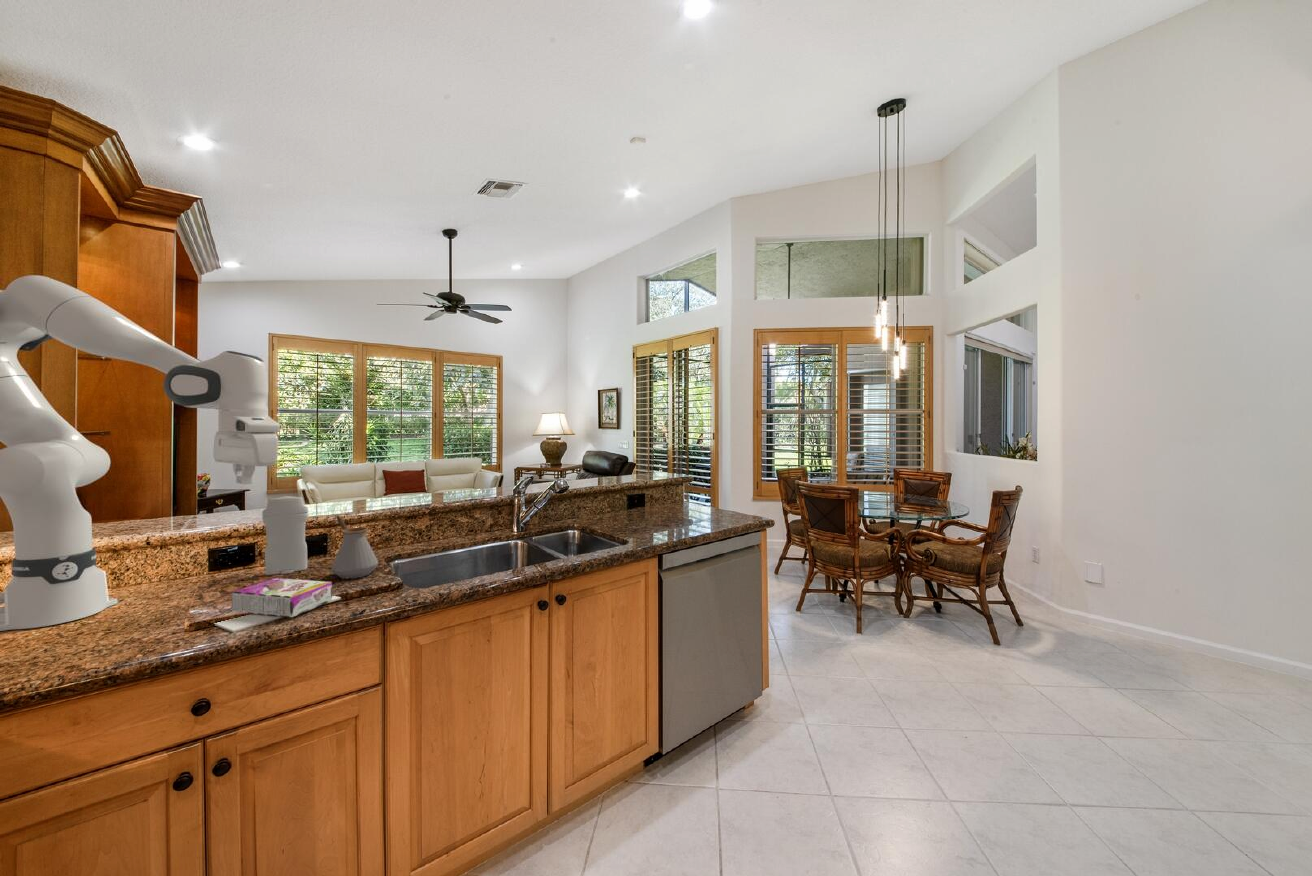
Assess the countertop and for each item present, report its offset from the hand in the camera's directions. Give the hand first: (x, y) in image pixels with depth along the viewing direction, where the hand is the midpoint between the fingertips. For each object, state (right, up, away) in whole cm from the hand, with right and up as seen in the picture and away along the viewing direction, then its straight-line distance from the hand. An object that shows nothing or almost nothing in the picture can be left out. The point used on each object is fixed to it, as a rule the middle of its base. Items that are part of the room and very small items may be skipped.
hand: (244, 484), depth 115 cm
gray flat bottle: (-12, -28, +30) cm, 43 cm away
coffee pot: (+5, -29, +32) cm, 43 cm away
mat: (+6, -29, +2) cm, 30 cm away
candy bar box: (-1, -26, +4) cm, 27 cm away
